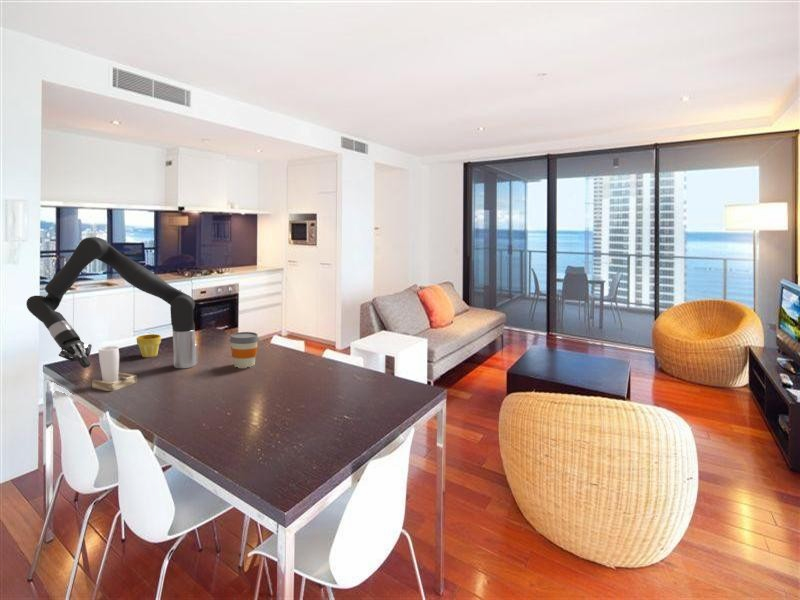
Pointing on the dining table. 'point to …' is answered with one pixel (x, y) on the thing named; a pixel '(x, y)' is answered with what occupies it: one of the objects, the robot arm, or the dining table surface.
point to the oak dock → (122, 382)
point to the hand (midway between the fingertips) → (87, 366)
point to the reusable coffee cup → (244, 348)
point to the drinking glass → (109, 363)
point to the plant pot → (149, 344)
